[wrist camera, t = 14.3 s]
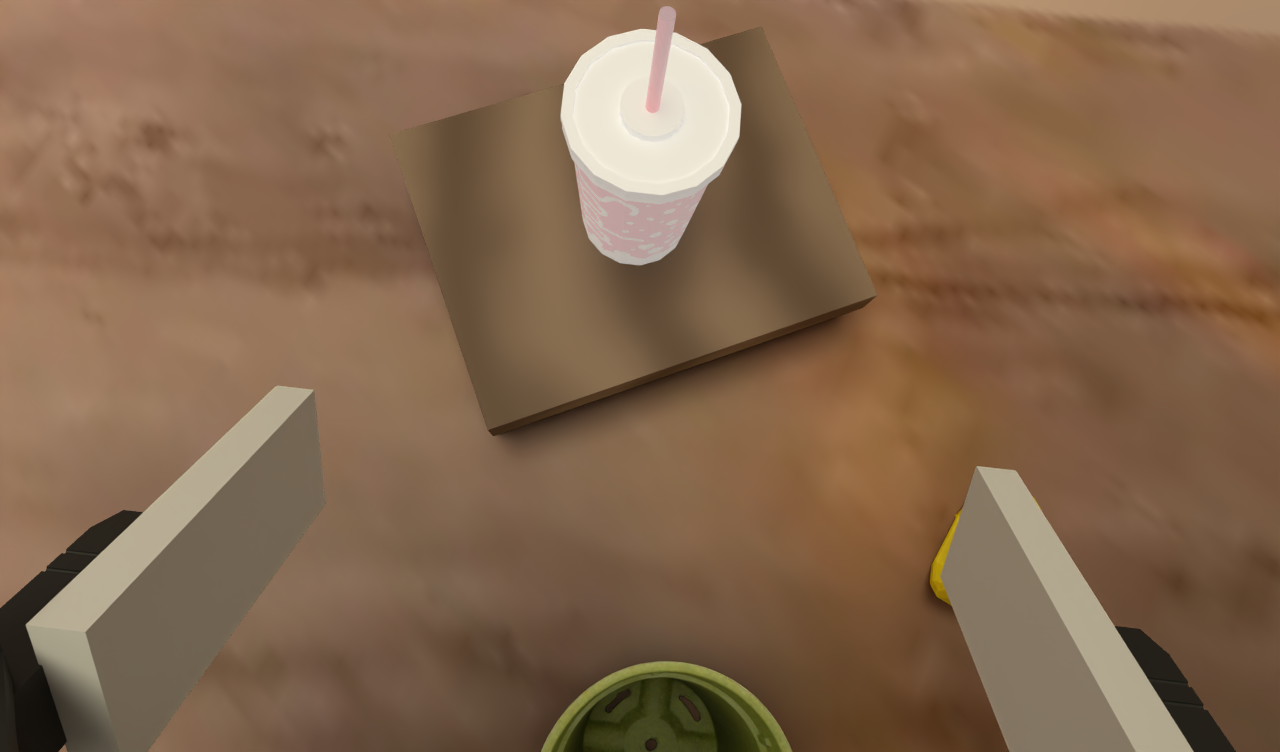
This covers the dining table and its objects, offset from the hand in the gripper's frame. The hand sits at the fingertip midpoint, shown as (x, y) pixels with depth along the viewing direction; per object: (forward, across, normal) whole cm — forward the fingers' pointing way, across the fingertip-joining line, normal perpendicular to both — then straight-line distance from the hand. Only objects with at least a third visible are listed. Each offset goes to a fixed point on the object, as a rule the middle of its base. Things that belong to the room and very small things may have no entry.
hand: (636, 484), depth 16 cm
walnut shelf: (+25, -2, -4) cm, 26 cm away
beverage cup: (+22, -2, -1) cm, 22 cm away
